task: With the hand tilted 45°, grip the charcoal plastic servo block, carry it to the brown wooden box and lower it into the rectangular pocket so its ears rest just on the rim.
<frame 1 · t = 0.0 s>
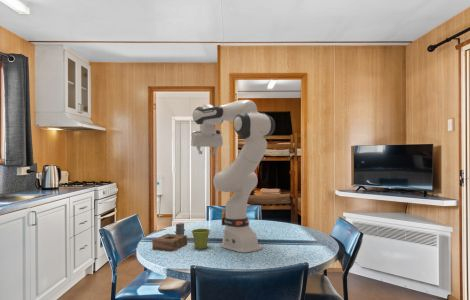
hand: (207, 154, 197), 48 cm above the table, tool pointing down, fingers open, 8 cm apart
plant pot: (200, 248, 165), on the table
brown wooden box: (170, 246, 167), on the table
ammunition clip: (229, 224, 222), on the table
servo: (180, 237, 186), on the table
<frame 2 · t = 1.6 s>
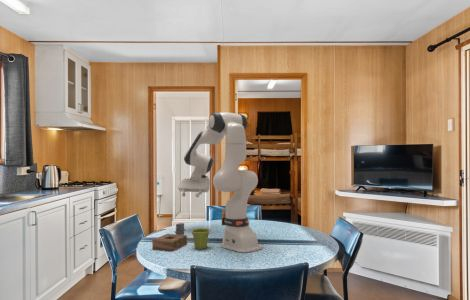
hand: (190, 196, 198), 22 cm above the table, tool tilted 45°, fingers open, 8 cm apart
nothing on the table moved.
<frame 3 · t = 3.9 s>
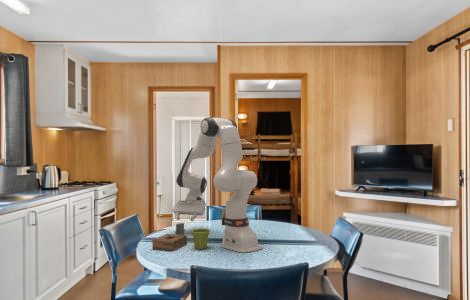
hand: (184, 219, 191), 9 cm above the table, tool tilted 45°, fingers open, 8 cm apart
nothing on the table moved.
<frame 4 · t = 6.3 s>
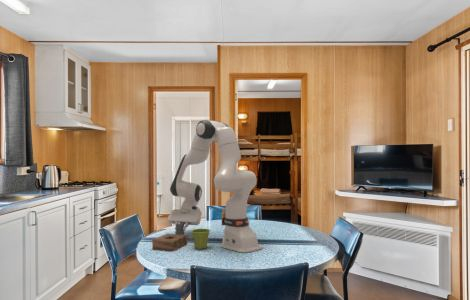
hand: (179, 229, 185), 5 cm above the table, tool tilted 45°, fingers closed on servo, 3 cm apart
servo: (180, 237, 186), on the table, touching gripper
everything else where it was.
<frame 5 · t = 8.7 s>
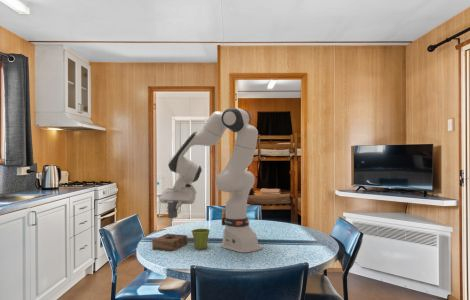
hand: (172, 209, 171), 19 cm above the table, tool tilted 45°, fingers closed on servo, 3 cm apart
servo: (172, 217, 172), point 14 cm above the table, touching gripper
everything else where it was.
when the fingers open (7 cm above the table, at t = 11.1 s): servo drops 2 cm, resting on brown wooden box.
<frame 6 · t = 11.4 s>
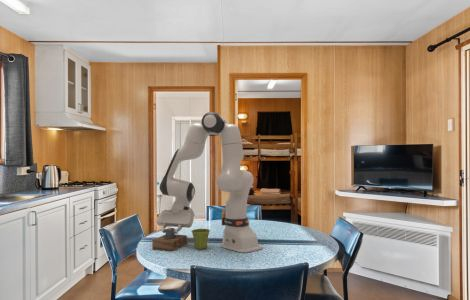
hand: (169, 232, 167), 7 cm above the table, tool tilted 45°, fingers open, 6 cm apart
servo: (170, 244, 167), point 1 cm above the table, touching brown wooden box
everything else where it was.
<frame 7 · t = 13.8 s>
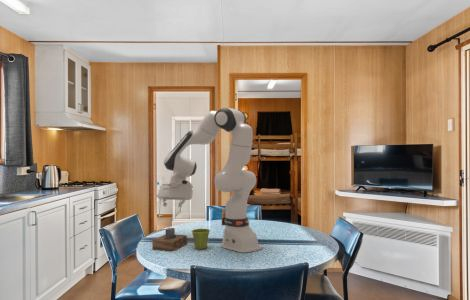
hand: (172, 206, 180), 19 cm above the table, tool tilted 30°, fingers open, 8 cm apart
nothing on the table moved.
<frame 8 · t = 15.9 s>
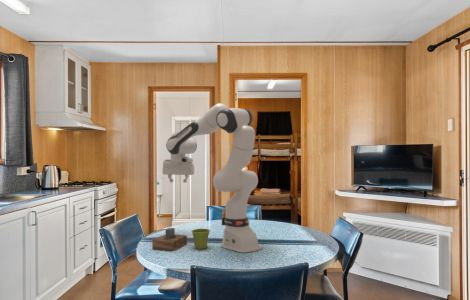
hand: (178, 182, 196), 31 cm above the table, tool pointing down, fingers open, 8 cm apart
nothing on the table moved.
at the end: servo 0.1 cm off-centre on the brown wooden box, point 1.2 cm above the brown wooden box's base; servo tilted 0°; the gripper is holding nothing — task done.
